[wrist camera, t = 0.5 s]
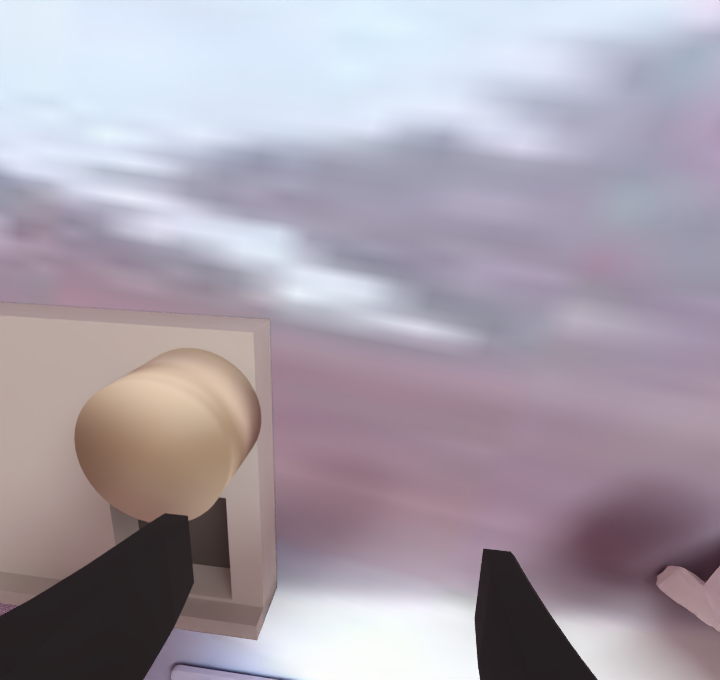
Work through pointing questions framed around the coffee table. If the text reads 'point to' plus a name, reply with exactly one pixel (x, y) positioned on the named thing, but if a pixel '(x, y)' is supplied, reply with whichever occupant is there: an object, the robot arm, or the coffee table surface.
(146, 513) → the beige rounded knob
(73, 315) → the trap board
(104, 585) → the robot arm
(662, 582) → the white animal figurine
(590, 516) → the coffee table surface
